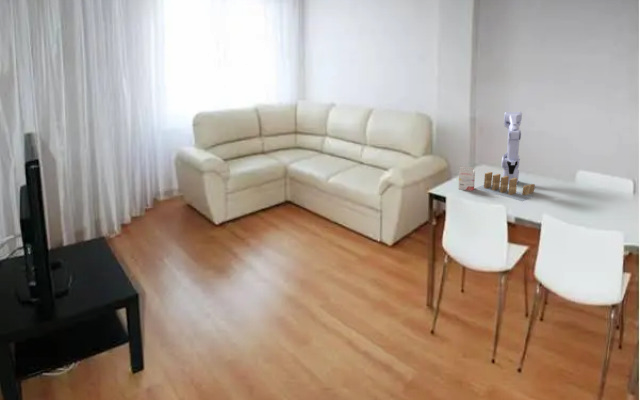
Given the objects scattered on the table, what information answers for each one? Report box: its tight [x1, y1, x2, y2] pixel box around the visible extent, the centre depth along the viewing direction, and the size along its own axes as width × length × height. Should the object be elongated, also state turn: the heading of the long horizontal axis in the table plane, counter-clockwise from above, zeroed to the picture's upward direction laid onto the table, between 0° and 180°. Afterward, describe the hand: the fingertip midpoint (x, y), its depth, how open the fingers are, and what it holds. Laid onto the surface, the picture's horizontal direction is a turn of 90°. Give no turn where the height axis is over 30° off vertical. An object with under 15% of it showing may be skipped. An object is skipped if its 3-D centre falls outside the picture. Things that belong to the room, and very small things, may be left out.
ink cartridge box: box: [457, 166, 476, 192], centre depth 284 cm, size 9×5×15 cm, turn 62°
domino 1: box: [483, 171, 493, 188], centre depth 286 cm, size 2×5×9 cm, turn 126°
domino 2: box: [492, 173, 501, 191], centre depth 281 cm, size 2×5×9 cm, turn 126°
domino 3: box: [499, 176, 509, 193], centre depth 277 cm, size 2×5×9 cm, turn 126°
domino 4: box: [508, 178, 518, 195], centre depth 273 cm, size 2×5×9 cm, turn 125°
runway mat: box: [475, 184, 535, 202], centre depth 278 cm, size 12×31×1 cm, turn 35°
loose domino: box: [521, 183, 536, 195], centre depth 273 cm, size 2×5×9 cm
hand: (511, 173), depth 281 cm, fingers closed
